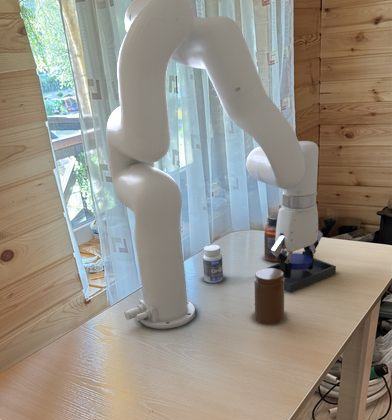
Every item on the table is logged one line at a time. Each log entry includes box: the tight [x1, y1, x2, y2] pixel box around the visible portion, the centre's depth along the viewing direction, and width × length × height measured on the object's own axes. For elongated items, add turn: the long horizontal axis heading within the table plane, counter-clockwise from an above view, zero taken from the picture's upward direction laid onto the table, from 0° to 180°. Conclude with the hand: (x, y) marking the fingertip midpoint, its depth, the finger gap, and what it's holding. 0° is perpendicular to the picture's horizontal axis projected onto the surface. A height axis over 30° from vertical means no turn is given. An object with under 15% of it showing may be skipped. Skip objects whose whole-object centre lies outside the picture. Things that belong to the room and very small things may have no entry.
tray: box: [264, 257, 337, 293], centre depth 127 cm, size 15×11×2 cm
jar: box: [253, 267, 286, 325], centre depth 108 cm, size 6×6×10 cm
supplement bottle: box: [263, 214, 287, 263], centre depth 134 cm, size 6×6×11 cm
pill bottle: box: [202, 244, 224, 284], centre depth 127 cm, size 5×5×8 cm
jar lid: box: [285, 252, 312, 270], centre depth 125 cm, size 7×7×2 cm
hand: (296, 271), depth 126 cm, fingers closed on jar lid, 6 cm apart
